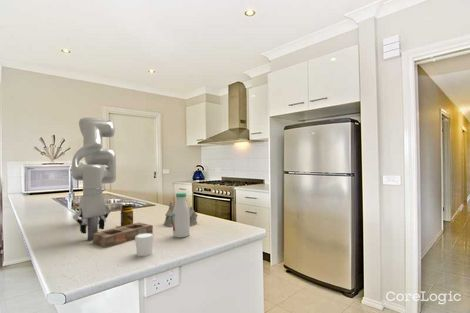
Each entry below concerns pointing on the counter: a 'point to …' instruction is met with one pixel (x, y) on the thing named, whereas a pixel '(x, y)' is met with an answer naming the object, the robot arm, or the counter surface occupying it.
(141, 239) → the shot glass
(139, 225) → the socket block
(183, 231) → the milk bottle
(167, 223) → the gray stone sculpture
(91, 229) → the grey rounded cylinder
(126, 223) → the condiment
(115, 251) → the counter surface
